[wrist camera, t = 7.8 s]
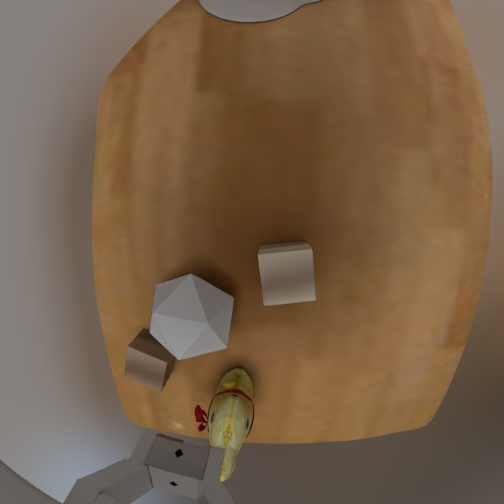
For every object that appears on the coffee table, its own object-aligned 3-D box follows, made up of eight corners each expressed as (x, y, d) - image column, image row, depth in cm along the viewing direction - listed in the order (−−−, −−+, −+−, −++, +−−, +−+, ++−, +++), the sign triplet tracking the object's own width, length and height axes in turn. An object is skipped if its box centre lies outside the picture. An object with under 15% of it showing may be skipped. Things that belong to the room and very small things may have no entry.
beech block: (259, 245, 31) (257, 254, 26) (305, 240, 30) (312, 248, 25) (264, 289, 32) (263, 305, 27) (308, 284, 31) (315, 300, 26)
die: (153, 275, 33) (126, 350, 26) (188, 239, 27) (156, 331, 20) (210, 306, 36) (194, 378, 30) (254, 280, 31) (241, 367, 24)
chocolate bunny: (262, 361, 33) (256, 453, 19) (247, 420, 35) (238, 503, 21) (208, 351, 33) (174, 436, 19) (201, 411, 36) (176, 491, 21)
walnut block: (144, 328, 34) (127, 345, 29) (179, 342, 34) (167, 362, 29) (139, 357, 35) (124, 376, 30) (172, 370, 35) (160, 392, 30)
